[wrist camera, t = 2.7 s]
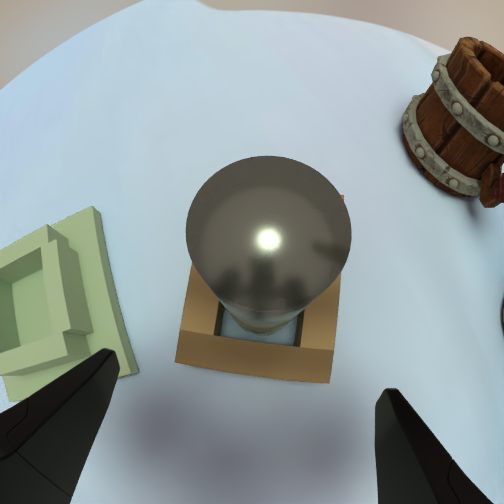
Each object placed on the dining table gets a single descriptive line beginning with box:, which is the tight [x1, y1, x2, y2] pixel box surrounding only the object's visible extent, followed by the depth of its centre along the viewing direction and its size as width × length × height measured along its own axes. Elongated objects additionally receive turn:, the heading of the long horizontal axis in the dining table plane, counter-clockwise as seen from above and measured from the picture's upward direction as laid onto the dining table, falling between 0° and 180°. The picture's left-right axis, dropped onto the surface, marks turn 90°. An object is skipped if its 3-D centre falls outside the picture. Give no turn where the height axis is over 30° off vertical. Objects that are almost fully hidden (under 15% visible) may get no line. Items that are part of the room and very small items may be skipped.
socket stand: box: [0, 206, 139, 402], centre depth 18 cm, size 13×13×4 cm
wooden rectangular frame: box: [175, 195, 344, 384], centre depth 20 cm, size 12×9×3 cm
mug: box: [402, 37, 504, 208], centre depth 18 cm, size 12×14×15 cm
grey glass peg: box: [186, 156, 351, 336], centre depth 14 cm, size 4×4×14 cm
